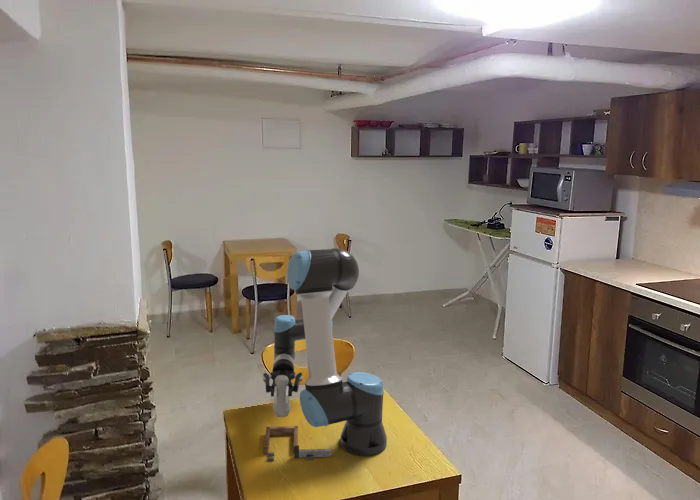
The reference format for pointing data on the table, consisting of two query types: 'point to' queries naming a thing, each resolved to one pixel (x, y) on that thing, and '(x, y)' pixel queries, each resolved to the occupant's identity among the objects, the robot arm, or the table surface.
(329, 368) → the robot arm
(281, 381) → the salt shaker
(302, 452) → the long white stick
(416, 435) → the table surface
